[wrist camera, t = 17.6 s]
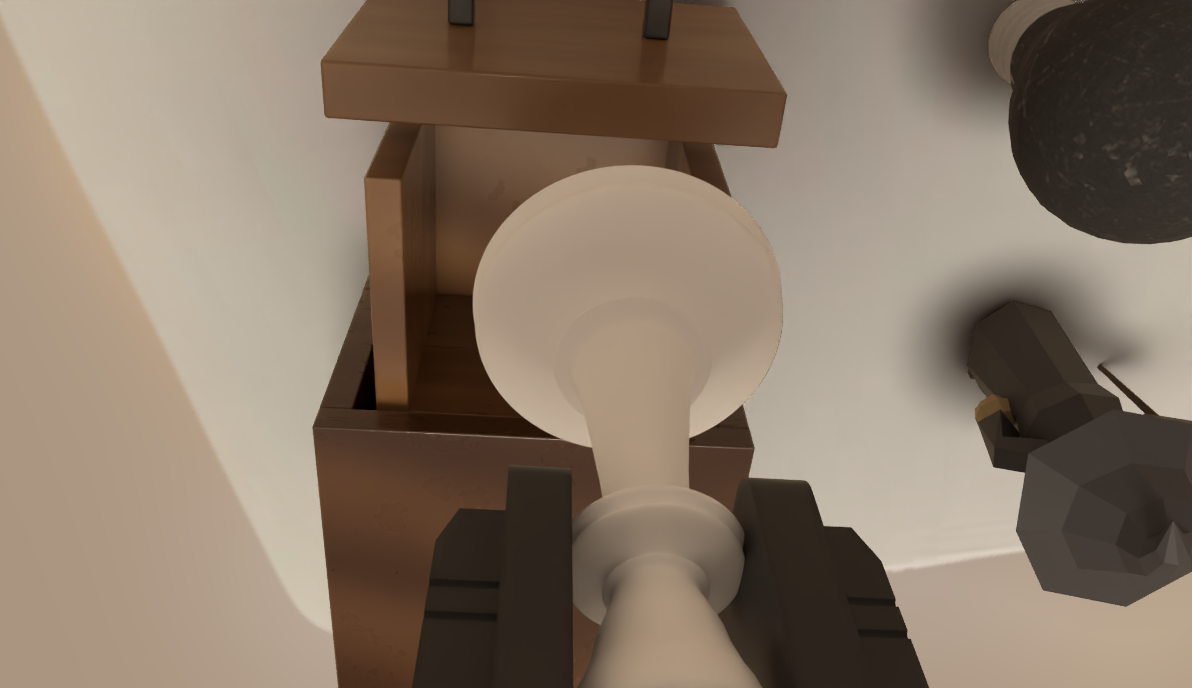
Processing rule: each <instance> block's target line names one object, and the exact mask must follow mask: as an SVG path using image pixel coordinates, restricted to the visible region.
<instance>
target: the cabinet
mask: <svg viewBox="0 0 1192 688" xmlns="http://www.w3.org/2000/svg"><path fill="white" fill-rule="evenodd" d="M313 436H314V446H315V456H316V467H317V477H318V487H319V497H320V507H321V518H322V528H323V538H324V548H325V558H326V568H327V579H328V589H329V599H330V609H331V619H332V630H333V640H334V650H335V659H336V670H337V679H338V688H412V684H413V678H414V671H415V665H416V659H417V653H418V647H419V640H420V634H421V628H422V622H423V619H424V609H425V603H426V597H427V590H428V586H429V578H430V572H431V565H432V559H433V553H434V547H435V540H436V539H437V538H438V536H439V535H440V534H441V532H442V531H443V530H444V528H445V527H446V526H447V524H448V523H449V522H450V520H451V519H452V518H453V516H454V515H455V514H456V512H457V511H458V510H459V508H467V509H488V510H505V509H506V496H507V483H508V470H509V465H519V466H539V467H558V468H571V473H572V520H573V519H574V518H575V517H576V516H577V515H578V514H579V513H580V512H581V511H582V510H583V509H585V508H586V507H587V506H589V505H590V504H592V503H593V502H595V501H596V500H598V499H600V498H602V492H601V486H600V481H599V476H598V472H597V468H596V463H595V458H594V453H593V449H592V448H591V447H586V446H582V445H578V444H575V443H572V442H569V441H566V440H563V439H560V438H558V437H556V436H553V435H551V434H549V433H547V432H545V431H544V430H542V429H540V428H538V427H537V426H535V425H534V424H532V423H531V422H529V421H528V420H526V419H525V418H520V417H500V416H479V415H459V414H439V413H419V412H398V411H378V410H376V391H375V372H374V354H373V335H372V316H371V297H370V278H369V276H368V279H367V281H366V284H365V287H364V289H363V292H362V295H361V298H360V300H359V303H358V306H357V308H356V311H355V314H354V317H353V319H352V322H351V325H350V327H349V330H348V333H347V335H346V338H345V341H344V344H343V346H342V349H341V352H340V354H339V357H338V360H337V363H336V365H335V368H334V371H333V373H332V376H331V379H330V381H329V384H328V387H327V390H326V392H325V395H324V398H323V400H322V403H321V406H320V409H319V411H318V414H317V417H316V419H315V422H314V425H313ZM754 449H755V448H754V444H753V441H752V437H751V433H750V430H749V426H748V423H747V419H746V415H745V411H744V407H743V404H742V405H741V406H740V407H739V408H738V409H737V410H736V411H735V412H733V413H732V414H731V415H730V416H728V417H727V418H726V419H724V420H723V421H721V422H720V423H718V424H717V425H715V426H713V427H712V428H710V429H708V430H706V431H704V432H702V433H700V434H698V435H696V436H694V437H691V438H689V489H692V490H695V491H698V492H701V493H703V494H705V495H707V496H709V497H711V498H713V499H715V500H716V501H718V502H720V503H721V504H722V505H724V506H725V507H726V508H727V509H728V510H729V511H730V512H731V513H732V511H733V507H734V502H735V498H736V493H737V489H738V486H739V483H740V481H741V480H742V478H748V477H749V472H750V467H751V463H752V458H753V453H754ZM599 628H600V625H599V624H597V623H596V622H594V621H592V620H591V619H589V618H588V617H586V616H585V615H584V614H583V613H582V612H581V611H580V610H579V609H578V608H577V607H576V606H575V605H574V604H573V688H578V686H579V684H580V682H581V681H582V679H583V677H584V675H585V672H586V670H587V667H588V664H589V662H590V659H591V656H592V653H593V649H594V644H595V640H596V636H597V633H598V630H599Z"/></svg>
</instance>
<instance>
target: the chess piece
mask: <svg viewBox="0 0 1192 688" xmlns="http://www.w3.org/2000/svg"><path fill="white" fill-rule="evenodd" d="M473 317H474V324H475V334H476V341H477V346H478V350H479V354H480V357H481V360H482V363H483V365H484V368H485V370H486V372H487V374H488V376H489V378H490V380H491V381H492V383H493V384H494V386H495V388H496V389H497V390H498V392H499V393H500V394H501V396H502V397H503V398H504V399H505V400H506V401H507V403H508V404H509V405H510V406H511V407H512V408H513V409H514V410H515V411H517V412H518V413H519V414H520V415H521V416H522V417H524V418H525V419H526V420H528V421H529V422H531V423H532V424H534V425H535V426H537V427H538V428H540V429H542V430H544V431H545V432H547V433H549V434H551V435H553V436H556V437H558V438H560V439H563V440H566V441H569V442H572V443H575V444H578V445H582V446H586V447H591V448H592V449H593V453H594V458H595V463H596V468H597V472H598V476H599V481H600V486H601V492H602V498H600V499H598V500H596V501H595V502H593V503H592V504H590V505H589V506H587V507H586V508H585V509H583V510H582V511H581V512H580V513H579V514H578V515H577V516H576V517H575V518H574V519H573V520H572V579H573V604H574V605H575V606H576V607H577V608H578V609H579V610H580V611H581V612H582V613H583V614H584V615H585V616H586V617H588V618H589V619H591V620H592V621H594V622H596V623H597V624H599V625H600V628H599V630H598V633H597V636H596V640H595V644H594V649H593V653H592V656H591V659H590V662H589V664H588V667H587V670H586V672H585V675H584V677H583V679H582V681H581V682H580V684H579V686H578V688H762V686H761V685H760V683H759V681H758V679H757V678H756V676H755V675H754V673H753V672H752V671H751V670H750V668H749V667H748V666H747V665H746V664H745V663H744V661H743V660H742V658H741V656H740V655H739V653H738V652H737V650H736V649H735V647H734V645H733V644H732V642H731V640H730V638H729V635H728V633H727V631H726V628H725V626H724V624H723V623H722V621H721V619H720V618H719V616H718V614H719V613H720V612H721V611H723V610H724V609H725V608H726V607H727V606H728V605H729V604H730V603H731V601H732V600H733V599H734V598H735V596H736V595H737V592H738V589H739V585H740V582H741V577H742V573H743V568H744V562H745V557H744V553H743V546H744V537H745V533H744V530H743V528H742V526H741V525H740V523H739V521H738V520H737V518H736V517H735V516H734V515H733V514H732V513H731V512H730V511H729V510H728V509H727V508H726V507H725V506H724V505H722V504H721V503H720V502H718V501H716V500H715V499H713V498H711V497H709V496H707V495H705V494H703V493H701V492H698V491H695V490H692V489H689V438H691V437H694V436H696V435H698V434H700V433H702V432H704V431H706V430H708V429H710V428H712V427H713V426H715V425H717V424H718V423H720V422H721V421H723V420H724V419H726V418H727V417H728V416H730V415H731V414H732V413H733V412H735V411H736V410H737V409H738V408H739V407H740V406H741V405H742V404H743V403H744V402H745V401H746V400H747V399H748V398H749V397H750V396H751V395H752V394H753V392H754V391H755V390H756V389H757V387H758V386H759V385H760V383H761V382H762V380H763V379H764V377H765V375H766V374H767V372H768V370H769V368H770V366H771V364H772V362H773V359H774V357H775V354H776V352H777V349H778V345H779V341H780V337H781V332H782V323H783V303H782V295H781V280H780V274H779V269H778V265H777V262H776V258H775V256H774V253H773V250H772V248H771V246H770V244H769V242H768V240H767V238H766V236H765V235H764V233H763V231H762V230H761V228H760V227H759V225H758V224H757V223H756V221H755V220H754V219H753V218H752V217H751V216H750V214H749V213H748V212H747V211H746V210H745V209H744V208H743V207H742V206H741V205H740V204H738V203H737V202H736V201H735V200H734V199H732V198H731V197H730V196H728V195H727V194H726V193H724V192H723V191H721V190H719V189H718V188H716V187H714V186H713V185H711V184H709V183H707V182H705V181H703V180H701V179H698V178H696V177H693V176H691V175H688V174H685V173H682V172H678V171H674V170H670V169H665V168H660V167H653V166H641V165H623V166H611V167H604V168H598V169H593V170H589V171H585V172H581V173H578V174H575V175H572V176H570V177H567V178H564V179H562V180H560V181H558V182H555V183H553V184H551V185H550V186H548V187H546V188H544V189H542V190H541V191H539V192H538V193H536V194H535V195H533V196H532V197H530V198H529V199H528V200H526V201H525V202H524V203H523V204H521V205H520V206H519V207H518V208H517V209H516V210H515V211H514V212H513V213H512V214H511V215H510V216H509V217H508V218H507V219H506V220H505V221H504V222H503V223H502V225H501V226H500V227H499V229H498V230H497V231H496V233H495V234H494V236H493V237H492V239H491V240H490V242H489V244H488V246H487V248H486V250H485V252H484V254H483V256H482V258H481V261H480V264H479V267H478V270H477V274H476V278H475V283H474V290H473Z"/></svg>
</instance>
